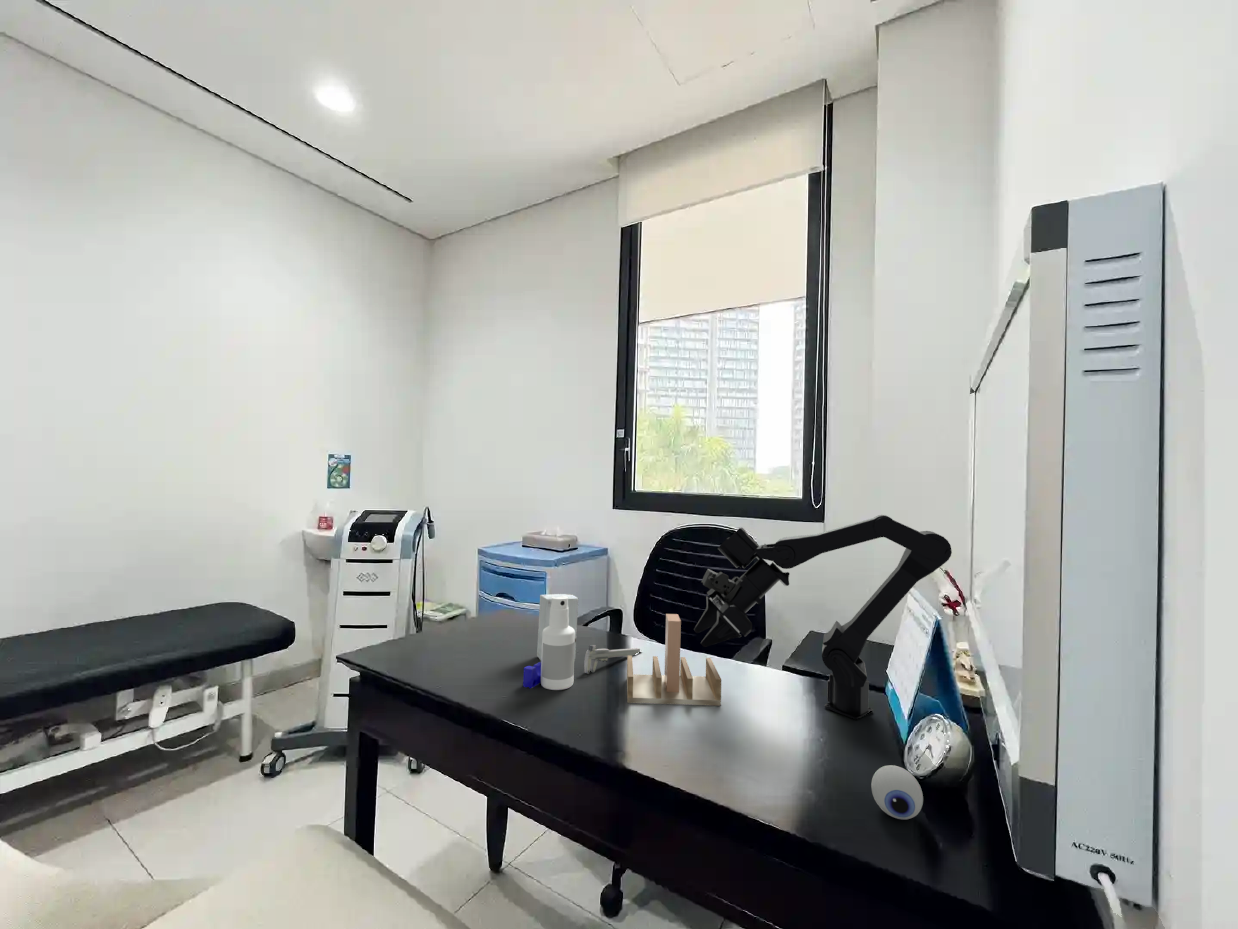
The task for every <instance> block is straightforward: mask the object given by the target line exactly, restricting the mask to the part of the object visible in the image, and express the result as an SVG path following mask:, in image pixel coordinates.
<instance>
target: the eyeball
mask: <svg viewBox="0 0 1238 929" xmlns="http://www.w3.org/2000/svg"><path fill="white" fill-rule="evenodd" d="M870 786H871V793H872V796H873V799H874V801H875V803H876V804H877V805H878V807H879V808H880V809H881V810H882V811H883V812H884V813H885V814H886V815H888V816H890V817H892V818H895V819H897V820H902V821H903V820H909V819H912V818H915V817H917V815H919V813H920V812H921V810H922V808H923V804H924V796H923V795H924V794H923V791H922V788H921V785H920V784H919V781H918V780H917V779H916V778H915V776H914V775H913V773H912V774H911V772H909V771H908V770H907V769H905V768H903V767H901V766H897V765H895V764H893V765H892V764H891V765H884V766H882V767H879V768H878V769H877V770H876V771H875V773H874V774H873V775H872V779H871V784H870Z"/></svg>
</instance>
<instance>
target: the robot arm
mask: <svg viewBox="0 0 1238 929" xmlns="http://www.w3.org/2000/svg"><path fill="white" fill-rule="evenodd" d="M880 538H885V539H887V540H890V541H891V542H893V543H895V544H898V545H899V546H901V547H903V548H905V550H904V551H903V553H902V555H901V558H900V560H899V563H898V564H897V566H896V567H895V568H894V570H893V571H892V572H891V573H890V574H889V575H888V576H887V577H886V579H885V580H884V581H883V582H882V584H880V586H879V587H878V588H877V589H876V591H875V592H874V593H873V594H872V595H871V596H870V597H869V599H868V600H867V601H866V602H865V604H863V606H862V607H861V608H860V609H859V610H858V611H857V612H856V613H855V615H853V617H852V618H851V619H850V620H849V621H848V622H845V623H844V624H843V625H842V624H840V622H838V621H837V620H835V622H834V623H833V625H832V627H831V628H830V629H829V631H828V632H825V633H824V634H823V641H822V648H821V649H822V650H821V659H822V662H823V664H824V665H825V667H826V668H827V669H828V670H830V671H831V673H829V679H828V680H827V682H826V684H827V688H826V691H827V692H826V702H828V703H826V704H824V708H825V709H828V710H830V711H833V712H835V711H836V712H835V713H837V712H838V714H840V715H843V716H846V717H848V718H850V719H852V718H854V719H853V720H855V719H857V720H859V719H858V718H860V719H861V718H863V717H865V716H867V715H868V714H867V713H869V712H870V711H874V709H873V708H872V707H870V706H869V703H870V702H869V701H870V700H869V698H870V696H869V695H870V693H869V692H870V686H869V685H870V681H869V679H868V676H867V670H866V663H865V661H864V660H863V658H861V657H860V655H861V653H862V651H863V649H864V647H865V645H866V642H867V641H868V639H869V637H870V636H871V635H872V634H873V633H874V631H875V630H876V629H877V628H878V627H879V625H880V624H881V623H883V622H884V620H885V619H886V618H887V617H888V616H889V615H890V613H892V611H893V610H894V608H896V606H897V605H898V604H899V603H900V602H901V601H902V600H903V598H904V597H906V595H907V594H908V593H909V592H910V591H911V589H913V587H914V586H915V585H916V584H917V583H918V582H919V581H921V580H923V579H924V578H926V577H928V576H930V574H933V573H934V572H935V571H936V570H938V569H939V568H941V567H942V566H943V565H944V564H946V563H947V562H948V561H949V560H950V558H951V557H952V553H953V552H952V551H953V550H952V546H951V544H950V541H949V540H948V539H946V537H945V536H943V535H940V534H939V533H936V532H934V531H932V530H931V531H930V530H922V531H918V530H916V529H914V528H912V527H910V526H908V525H905V524H903V523H901V522H899V521H896V520H894V519H893V518H892V517H890V516H889V515H886V514H879V515H876V516H874V517H873V518H868V519H866V520H861V521H859V522H855V523H852V524H848V525H844V526H841V527H838V528H834V529H831V530H830V529H829V530H826V531H824V532H819V533H817V534H807V535H794V536H786V537H782V538H780V539H778V540H777V541H776V542H775V543H769V544H768V543H767V544H766V543H764V544H761V545H760V544H758V543H757V542H756V541H755V540H754V538H752V537H751V536H750V535H749V534H748V532H747V531H746V530H745V528H743V527H739V528H738V529H737V530H736V531H734V532H733V533H732V534H731V535H730V536H729V537H727V538H725V540H724V541H722V543H721V544H720V545H719V546H718V547H717V550H718V551H719V552H720V553H721V554H722V555H723V556H724V557H725V558H726V559H727V560H728V561H729V562H730V563H731V565H733V567H735V568H736V569H738V568H740V569H741V568H743V569H746V568H747V566H749V565H750V564H751V563H752V562H753V561H754V560H755V559H757V560H756V562H754V563H753V564H752V565H751V566H750V567H749V568H747V570H746V571H745V572H744V573H743V574H742V575H741V576H740V577H739V576H734V577H733V578H732V579H730V578H729V575H728V574H725V573H723V572H722V571H719V572H715V571H713V570H712V569H709V568H707V570H706V572H705V573H704V575H703V577H702V580H701V582H700V583H702V585H703V586H704V587H705V588H708V589H709V590H708V591H707V592H706V594H707V595H706V596H705V599H706V600H705V601H706V607H705V610H704V611H703V613H702V615H701V617H700V618H699V620H698V622H697V623H696V625H695V626H694V628H693V630H694V633H696V634H699V633H702V632H704V631H706V630H708V629H709V630H708V632H707V633H706V635H704V637H703V639H702V640H701V642H700V645H701V646H702V647H703V648H707V647H710V646H712V645H716V644H719V643H722V642H726V641H728V640H733V639H737V638H741V637H742V636H744V638H746V637H747V636H748V635H749V634H750V633H751V632H752V631H753V622H752V621H751V620H750V619H749V618H748V616H749V615H748V614H747V613H748V611H749V610H751V608H752V607H754V606H755V605H756V604H757V605H761V603H763V600H762V599H763V597H764V596H765V595H766V594H767V593H768V592H770V590H771V589H772V588H773V587H774V586H775V585H776V584H777V583H778V582H780V583H781V584H782V585H783V586H784V587H787V586H788V587H789V585H790V579H789V578H790V572H788V571H787V572H786V571H785V572H784V571H782V570H781V569H783V570H784V569H785V570H787V569H793V568H795V567H797V566H800V565H801V564H804V563H806V562H807V561H809V560H812V559H813V558H816V557H817V556H819V555H821V554H825V553H828V552H832V551H836V550H839V549H843V548H847V547H850V546H855V545H858V544H861V543H865V542H869V541H872V540H875V539H880ZM767 561H770V562H771V563H770V564H769V563H768V562H767ZM780 568H781V569H780ZM740 633H741V634H740ZM866 714H867V715H866ZM869 714H870V713H869ZM864 715H865V716H864ZM862 716H863V717H862Z"/></svg>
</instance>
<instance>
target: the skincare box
mask: <svg viewBox="0 0 1238 929" xmlns="http://www.w3.org/2000/svg"><path fill="white" fill-rule="evenodd" d="M561 596H567V597H568V608H569V626H570V627H572V628H573V629H574V630H575V650H574V661H576V653H577V650H576V649H577V633H578V632H577V630H578V629H577V628H578V615H579V614H578V611H579V598H578V597H577V596H575V595H574V594H572V593H551V594H550V593H549V594H548V593H547V594H540V595H539V609H538V610H539V611H538V628H537V629H538V630H537V631H538V632H537V650H536V656H537V658H538V659H539V662H541V656H542V632H543V629H544V628H546V627H548V626H549V618H550V607H551V602H552V597H561Z"/></svg>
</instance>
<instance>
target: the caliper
mask: <svg viewBox="0 0 1238 929" xmlns="http://www.w3.org/2000/svg"><path fill="white" fill-rule="evenodd" d="M596 648H597V645H596V644H588V649H587V650H586V652H585V655H584V662H583V663H584V664H583V665H584V666H583V668H584V669H583V670H584V674H588V675H589V674H590V673H595V671H596V669H597V665H598V663H599V661H600V662H602V663H604V662H608V660H609V658H621V657H627V655H628V656H632V657H633V656H636V655H635V654H636V653H638V652H640V650H641V649H640V648H637V647H636V648H635V647H634V648H619V649H610V648H609V649H608V648H597V649H596ZM590 671H591V672H590Z"/></svg>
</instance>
